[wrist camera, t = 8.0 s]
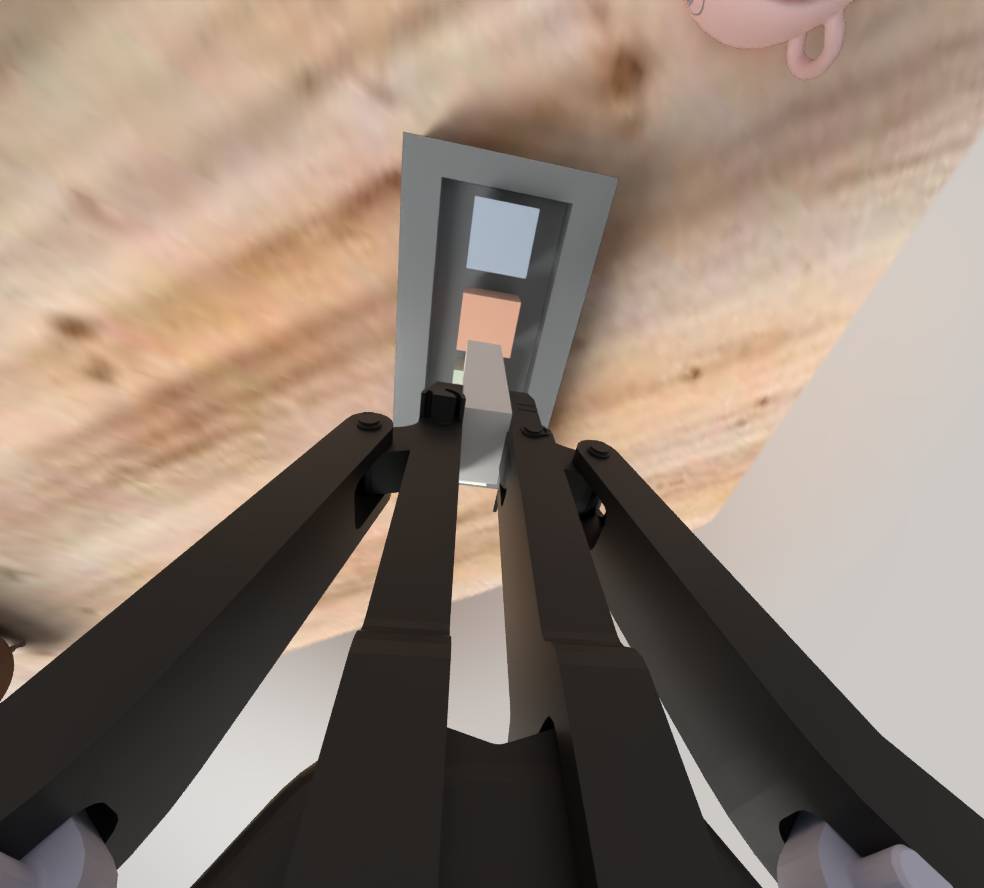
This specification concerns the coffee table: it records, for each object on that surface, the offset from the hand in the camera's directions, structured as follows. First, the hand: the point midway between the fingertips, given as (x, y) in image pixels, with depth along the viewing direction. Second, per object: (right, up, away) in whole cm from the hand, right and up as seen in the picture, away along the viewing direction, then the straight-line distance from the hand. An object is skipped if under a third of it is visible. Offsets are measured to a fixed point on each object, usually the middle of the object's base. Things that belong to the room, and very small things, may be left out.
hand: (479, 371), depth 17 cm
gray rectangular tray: (0, +5, +13) cm, 14 cm away
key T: (0, +5, +9) cm, 10 cm away
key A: (+1, +10, +6) cm, 12 cm away
